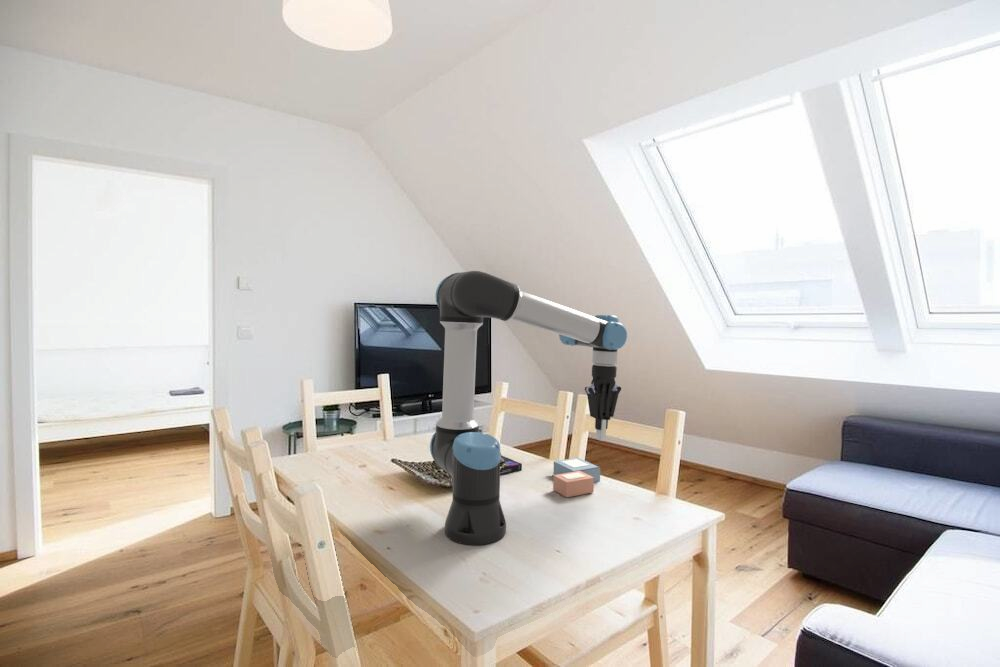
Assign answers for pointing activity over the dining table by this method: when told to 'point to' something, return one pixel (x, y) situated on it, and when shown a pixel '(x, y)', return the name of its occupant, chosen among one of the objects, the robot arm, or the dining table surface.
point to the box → (510, 466)
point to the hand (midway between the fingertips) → (600, 439)
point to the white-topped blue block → (577, 467)
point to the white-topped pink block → (573, 483)
